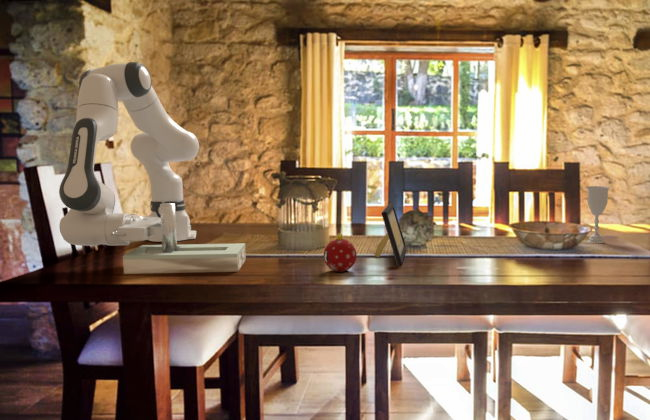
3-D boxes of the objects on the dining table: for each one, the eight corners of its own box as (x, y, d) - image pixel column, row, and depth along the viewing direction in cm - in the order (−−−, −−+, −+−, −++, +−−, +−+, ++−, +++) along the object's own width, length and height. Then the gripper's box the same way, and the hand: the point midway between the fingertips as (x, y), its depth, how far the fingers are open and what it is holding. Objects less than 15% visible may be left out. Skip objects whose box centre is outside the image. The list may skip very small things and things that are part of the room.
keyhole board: (143, 261, 162) (142, 245, 161) (245, 259, 162) (245, 243, 162) (123, 273, 146) (122, 255, 146) (237, 271, 146) (237, 253, 146)
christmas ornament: (362, 272, 143) (362, 234, 142) (333, 276, 139) (332, 237, 138) (346, 266, 150) (346, 230, 149) (318, 270, 147) (317, 232, 145)
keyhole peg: (159, 258, 158) (157, 202, 156) (188, 258, 158) (185, 202, 156) (151, 264, 150) (148, 205, 148) (181, 263, 150) (178, 205, 148)
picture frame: (402, 265, 150) (395, 210, 149) (369, 268, 152) (362, 214, 151) (406, 249, 173) (401, 202, 172) (378, 252, 175) (372, 205, 174)
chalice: (612, 243, 177) (614, 187, 175) (590, 244, 178) (592, 188, 176) (601, 240, 185) (603, 186, 183) (580, 240, 185) (582, 186, 183)
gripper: (106, 223, 142) (160, 222, 142) (133, 213, 163) (180, 212, 163) (108, 247, 143) (161, 246, 143) (134, 234, 163) (181, 234, 163)
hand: (172, 228), depth 153 cm, fingers closed on keyhole peg, 4 cm apart
